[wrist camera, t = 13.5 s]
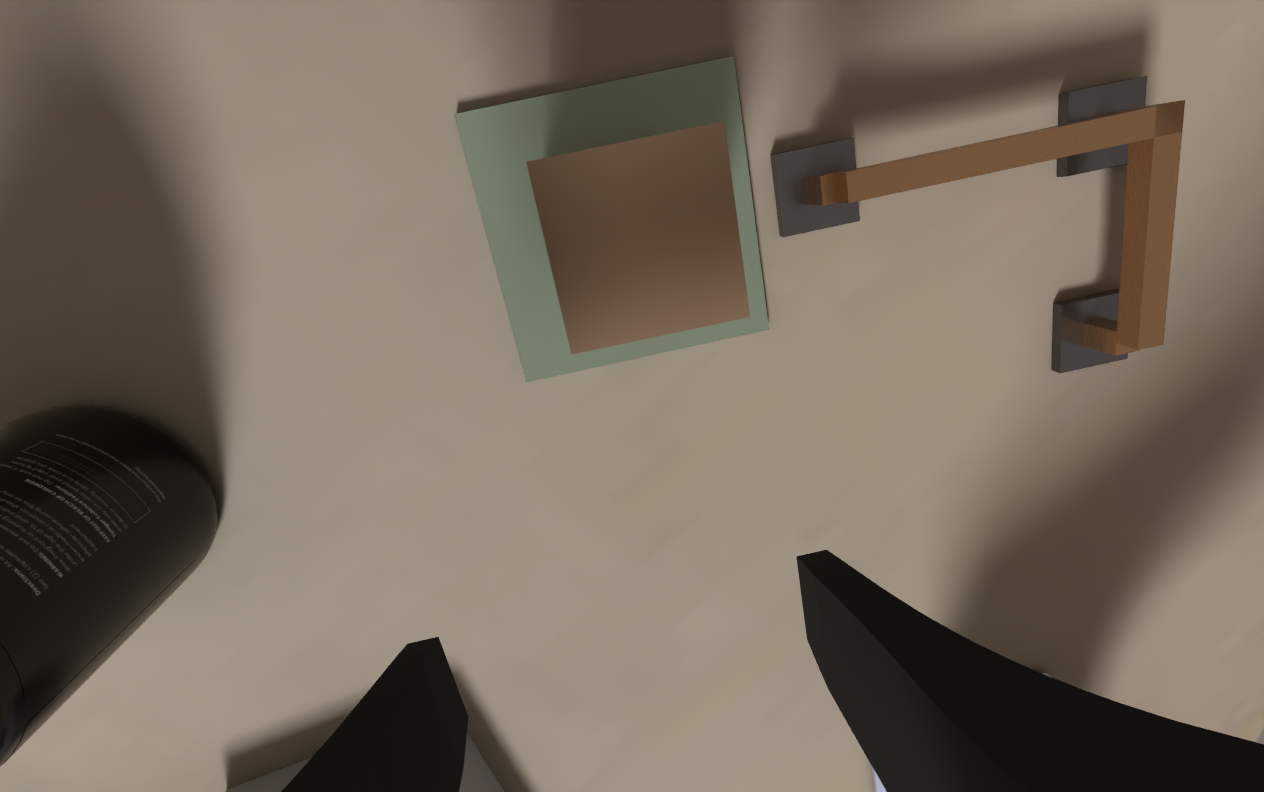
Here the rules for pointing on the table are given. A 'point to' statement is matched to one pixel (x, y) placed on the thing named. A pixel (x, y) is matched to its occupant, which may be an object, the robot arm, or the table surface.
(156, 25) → the table surface
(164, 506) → the supplement bottle
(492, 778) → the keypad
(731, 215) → the block
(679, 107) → the mat
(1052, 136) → the brown angled rail
